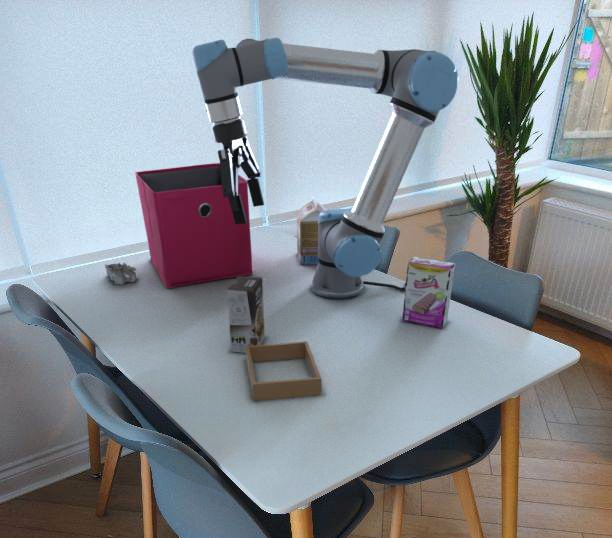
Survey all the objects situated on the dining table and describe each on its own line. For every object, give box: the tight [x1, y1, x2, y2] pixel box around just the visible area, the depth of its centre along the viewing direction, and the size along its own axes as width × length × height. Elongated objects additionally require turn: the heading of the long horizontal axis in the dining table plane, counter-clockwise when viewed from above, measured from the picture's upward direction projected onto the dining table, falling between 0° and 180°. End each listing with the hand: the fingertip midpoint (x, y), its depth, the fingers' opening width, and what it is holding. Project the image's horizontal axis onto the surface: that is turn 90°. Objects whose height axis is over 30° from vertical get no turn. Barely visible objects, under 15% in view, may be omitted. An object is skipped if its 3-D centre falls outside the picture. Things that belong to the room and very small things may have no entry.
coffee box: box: [226, 276, 266, 354], centre depth 145 cm, size 9×6×16 cm
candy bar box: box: [401, 256, 456, 329], centre depth 155 cm, size 11×5×16 cm, turn 65°
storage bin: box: [134, 162, 254, 289], centre depth 186 cm, size 28×29×28 cm
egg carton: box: [104, 262, 138, 285], centre depth 186 cm, size 11×8×4 cm
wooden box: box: [245, 340, 322, 402], centre depth 135 cm, size 15×18×4 cm
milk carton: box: [296, 196, 328, 266], centre depth 196 cm, size 11×11×19 cm
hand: (250, 214), depth 147 cm, fingers open, 13 cm apart
